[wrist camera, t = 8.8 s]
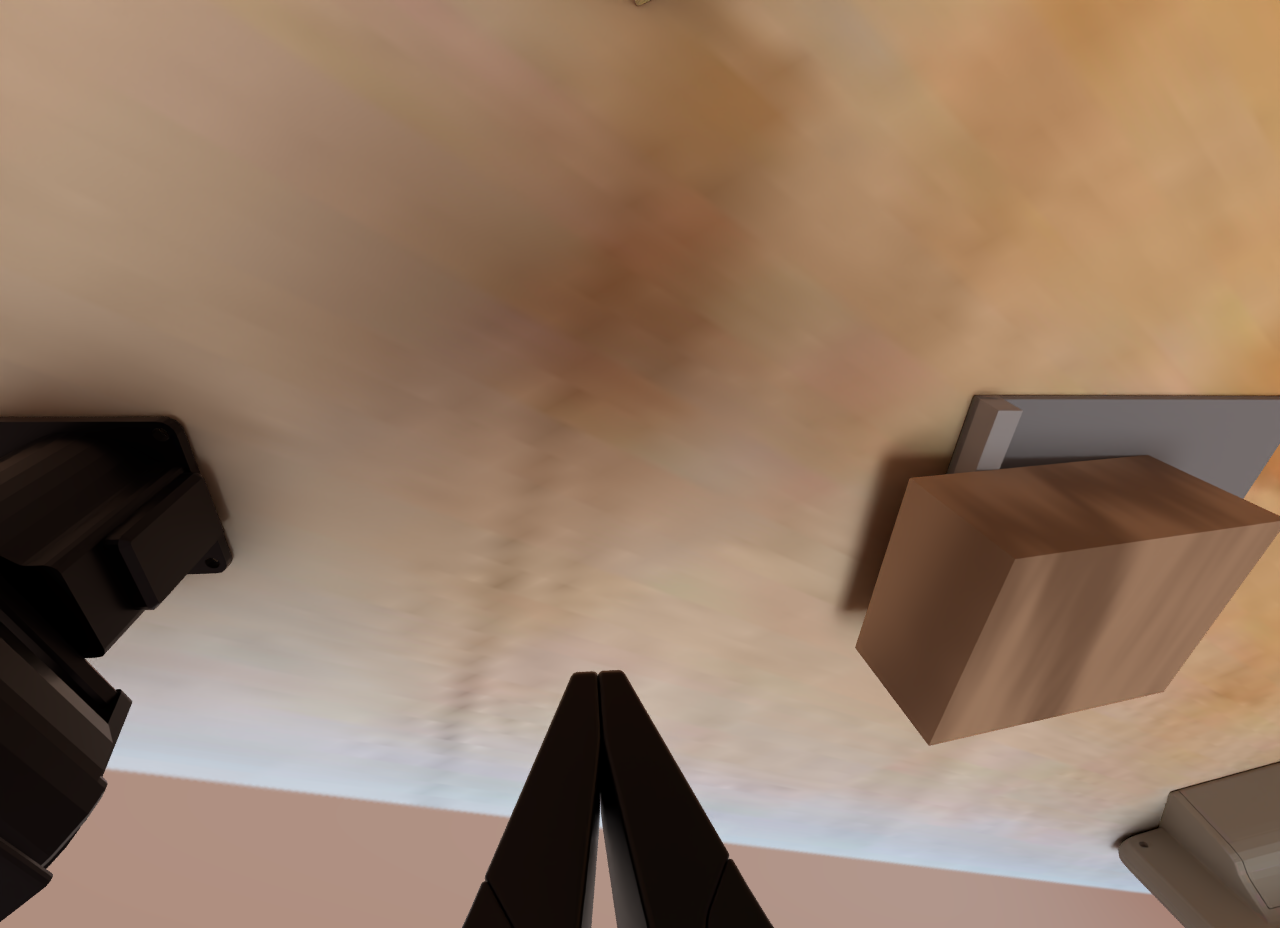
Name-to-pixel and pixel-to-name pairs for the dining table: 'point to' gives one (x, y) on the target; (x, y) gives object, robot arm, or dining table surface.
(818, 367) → the dining table surface
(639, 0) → the box
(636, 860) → the robot arm
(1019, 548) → the walnut block
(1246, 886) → the digital clock
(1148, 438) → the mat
